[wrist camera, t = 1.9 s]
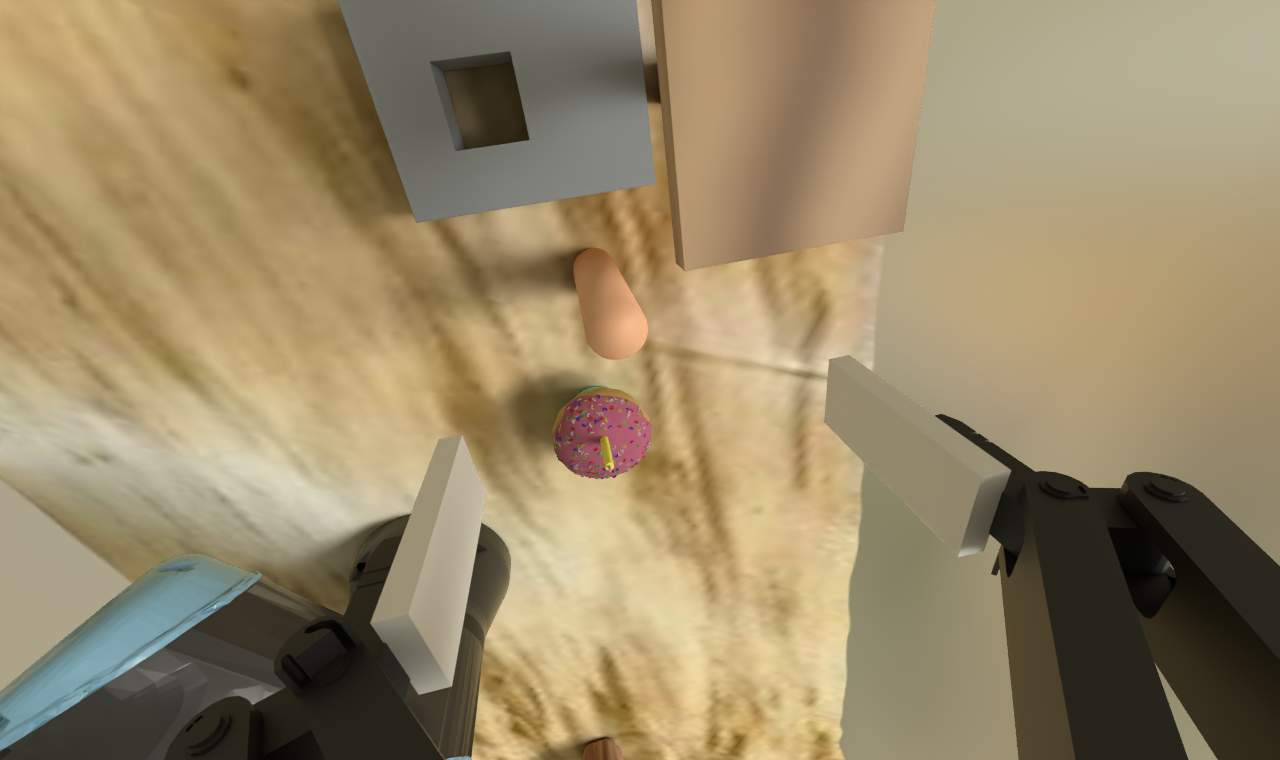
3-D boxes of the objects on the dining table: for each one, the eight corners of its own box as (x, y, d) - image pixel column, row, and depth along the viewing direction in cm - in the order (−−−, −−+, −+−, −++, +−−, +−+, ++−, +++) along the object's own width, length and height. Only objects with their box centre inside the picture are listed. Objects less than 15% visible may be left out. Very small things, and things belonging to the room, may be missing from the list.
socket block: (430, 214, 33) (416, 222, 29) (359, 6, 27) (332, -15, 24) (644, 180, 34) (655, 183, 31) (621, -25, 29) (631, -48, 25)
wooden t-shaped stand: (608, 200, 35) (684, 271, 15) (570, -40, 28) (622, -456, 9) (708, 183, 35) (903, 231, 16) (695, -54, 29) (1002, -465, 9)
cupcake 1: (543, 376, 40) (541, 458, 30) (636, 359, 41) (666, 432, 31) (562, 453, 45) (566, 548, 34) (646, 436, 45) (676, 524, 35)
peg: (577, 293, 38) (591, 365, 25) (569, 251, 36) (580, 307, 24) (617, 285, 38) (651, 353, 26) (611, 244, 36) (643, 295, 24)
